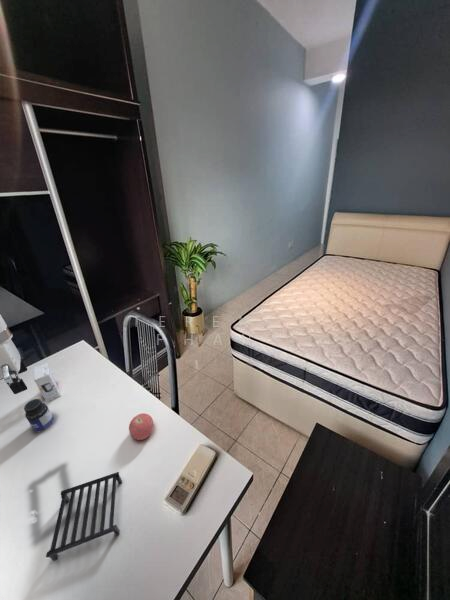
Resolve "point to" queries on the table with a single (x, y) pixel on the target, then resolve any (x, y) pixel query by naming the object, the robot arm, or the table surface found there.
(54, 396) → the ink box
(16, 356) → the robot arm
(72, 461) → the table surface
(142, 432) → the apple
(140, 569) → the table surface
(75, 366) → the table surface
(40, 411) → the pill bottle
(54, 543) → the wire rack
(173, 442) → the table surface
